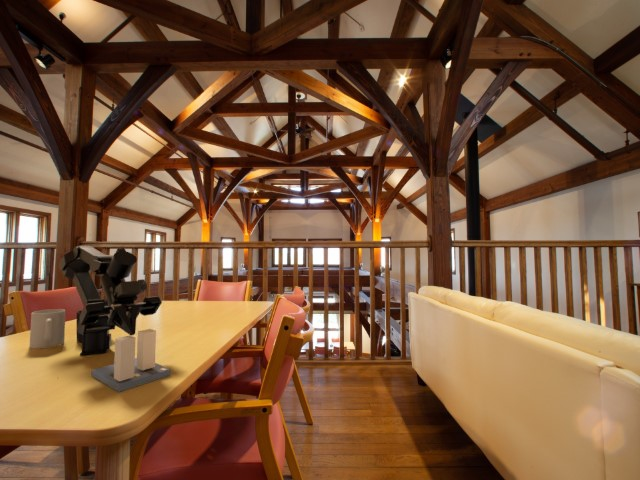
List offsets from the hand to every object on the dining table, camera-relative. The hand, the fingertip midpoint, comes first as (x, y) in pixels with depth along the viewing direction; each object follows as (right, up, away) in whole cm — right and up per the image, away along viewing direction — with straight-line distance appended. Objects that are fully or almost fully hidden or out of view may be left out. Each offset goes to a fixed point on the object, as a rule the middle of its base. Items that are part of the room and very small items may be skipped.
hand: (133, 334), depth 80 cm
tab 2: (+6, -7, -4) cm, 10 cm away
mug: (-39, -10, +18) cm, 44 cm away
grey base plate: (+3, -9, -5) cm, 10 cm away
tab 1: (+5, -7, -11) cm, 13 cm away
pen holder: (-30, -10, +26) cm, 41 cm away
